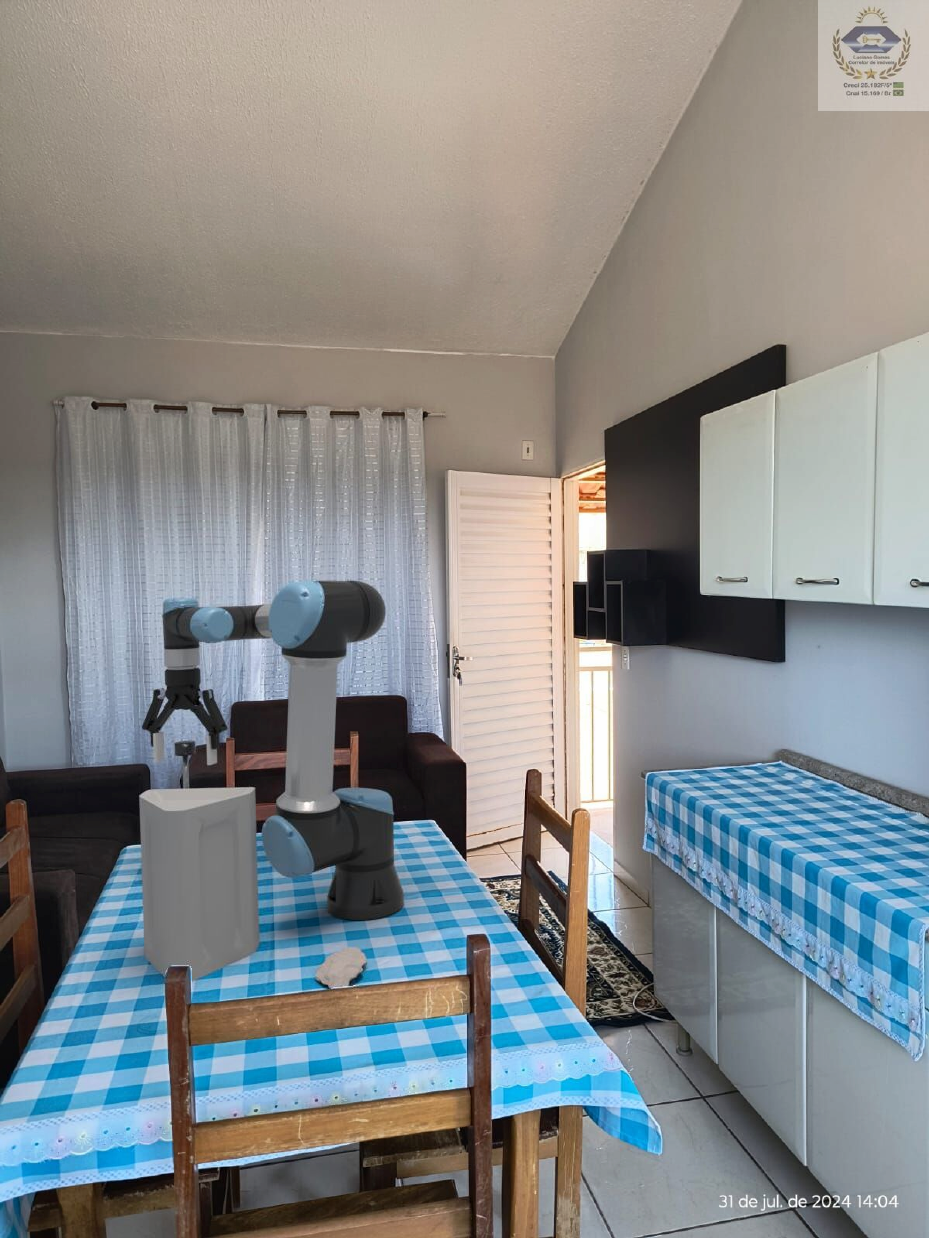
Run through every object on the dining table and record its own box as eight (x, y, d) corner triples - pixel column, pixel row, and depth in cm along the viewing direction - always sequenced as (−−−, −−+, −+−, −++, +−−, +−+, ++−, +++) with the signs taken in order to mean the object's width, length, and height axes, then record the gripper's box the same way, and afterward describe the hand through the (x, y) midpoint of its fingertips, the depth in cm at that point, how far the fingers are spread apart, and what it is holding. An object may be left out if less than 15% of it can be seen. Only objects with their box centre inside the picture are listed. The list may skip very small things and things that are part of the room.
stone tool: (364, 996, 126) (366, 960, 141) (365, 976, 126) (367, 942, 141) (311, 997, 125) (319, 960, 140) (312, 976, 125) (320, 942, 140)
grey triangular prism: (120, 984, 131) (114, 812, 130) (153, 944, 146) (148, 789, 145) (239, 981, 131) (234, 809, 130) (260, 941, 146) (256, 786, 145)
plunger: (158, 833, 179) (155, 745, 179) (182, 822, 187) (179, 738, 187) (192, 835, 177) (190, 746, 176) (215, 824, 185) (212, 739, 184)
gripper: (241, 666, 181) (244, 761, 182) (145, 665, 188) (148, 756, 189) (222, 669, 174) (225, 768, 175) (123, 668, 181) (126, 763, 181)
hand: (185, 762), depth 182 cm, fingers open, 13 cm apart
